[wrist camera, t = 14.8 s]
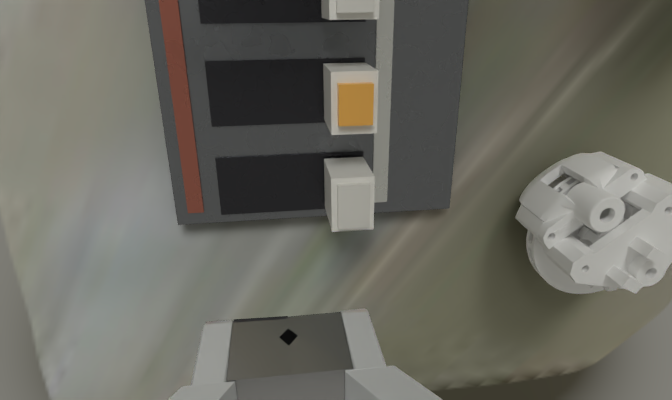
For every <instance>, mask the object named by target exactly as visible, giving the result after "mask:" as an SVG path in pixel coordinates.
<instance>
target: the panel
mask: <svg viewBox="0 0 672 400" xmlns="http://www.w3.org/2000/svg"><path fill="white" fill-rule="evenodd" d="M145 5H146V12H147V18H148V25H149V32H150V39H151V45H152V52H153V59H154V66H155V72H156V79H157V86H158V93H159V99H160V106H161V113H162V120H163V126H164V133H165V140H166V147H167V153H168V160H169V167H170V173H171V180H172V187H173V194H174V200H175V207H176V214H177V221H178V225H181V224H198V223H215V222H231V221H248V220H264V219H281V218H298V217H314V216H327V213H326V209H325V184H324V159H327V158H349V157H363V158H364V159H365V161H366V163H367V164H368V166H369V168H370V169H371V171H372V172H373V174H374V176H375V193H374V213H381V212H397V211H414V210H430V209H447V208H449V207H450V196H451V185H452V174H453V163H454V152H455V142H456V131H457V120H458V109H459V98H460V87H461V76H462V65H463V54H464V44H465V33H466V22H467V11H468V0H379V19H360V20H328V19H324V18H322V11H321V0H145ZM363 62H365V63H367V64H369V65H370V66H372V67H373V68H375V69H377V70H378V71H379V73H378V110H377V133H371V134H346V135H331V133H330V131H329V129H328V127H327V125H326V122H325V120H324V81H323V63H363Z"/></svg>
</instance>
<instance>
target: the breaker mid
mask: <svg viewBox="0 0 672 400" xmlns="http://www.w3.org/2000/svg"><path fill="white" fill-rule="evenodd" d="M378 73H379V71H378V70H377V69H375V68H373V67H372V66H370V65H369V64H367V63H365V62H363V63H323V81H324V120H325V122H326V125H327V127H328V129H329V131H330V133H331V135H346V134H371V133H377V110H378Z"/></svg>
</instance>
